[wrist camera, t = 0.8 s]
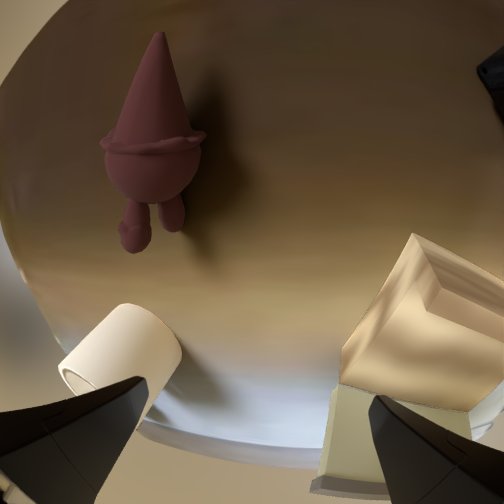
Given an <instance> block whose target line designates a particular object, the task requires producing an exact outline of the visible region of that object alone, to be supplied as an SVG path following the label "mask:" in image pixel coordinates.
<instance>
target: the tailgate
mask: <svg viewBox="0 0 504 504" xmlns="http://www.w3.org/2000/svg"><path fill="white" fill-rule="evenodd" d="M375 396H376V395H374V394H370V393H367V392H363V391H359V390H356V389H352V388H349V387H345V386H342V385H339V384H338V385H337V386H336V388H335V389H334V390H333V391H332V393H331V400H330V407H329V414H328V420H327V427H326V433H325V438H324V444H323V449H322V455H321V460H320V464H319V469H318V474H317V478H316V479H314V480H312V483H311V487H310V491H309V492H310V493H315V494H321V495H327V496H335V497H343V498H353V499H366V500H391V499H390V496H389V492H388V488H387V485H386V482H385V478H384V475H383V472H382V468H381V465H380V462H379V459H378V455H377V452H376V449H375V446H374V443H373V438H372V433H371V427H370V422H369V416H368V410H369V407H370V405H371V403H372V401H373V398H374V397H375ZM393 400H394V399H393ZM394 401H396V402H398V403H400V404H401V405H403V406H405V407H407V408H409V409H410V410H412V411H414V412H416V413H418V414H419V415H421V416H423V417H425V418H427V419H429V420H430V421H432V422H434V423H436V424H438V425H440V426H442V427H444V428H446V430H447V429H448V430H450V431H452V432H454V433H456V434H458V435H460V436H462V437H465V438H467V439H469V440H472V436H471V429H470V423H469V418H468V413H462V412H455V411H449V410H443V409H438V408H432V407H427V406H422V405H417V404H412V403H408V402H403V401H399V400H394Z"/></svg>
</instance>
